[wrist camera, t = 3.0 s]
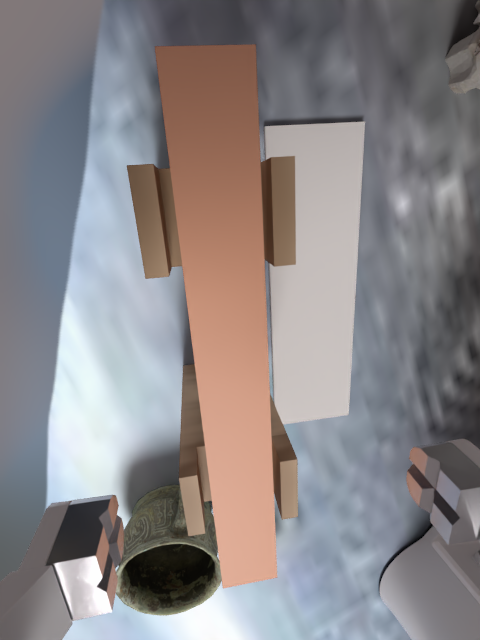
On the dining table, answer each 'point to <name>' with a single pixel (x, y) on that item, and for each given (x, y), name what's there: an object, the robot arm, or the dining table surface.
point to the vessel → (167, 556)
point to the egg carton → (465, 61)
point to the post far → (196, 468)
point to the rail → (225, 287)
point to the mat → (317, 271)
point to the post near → (161, 224)
